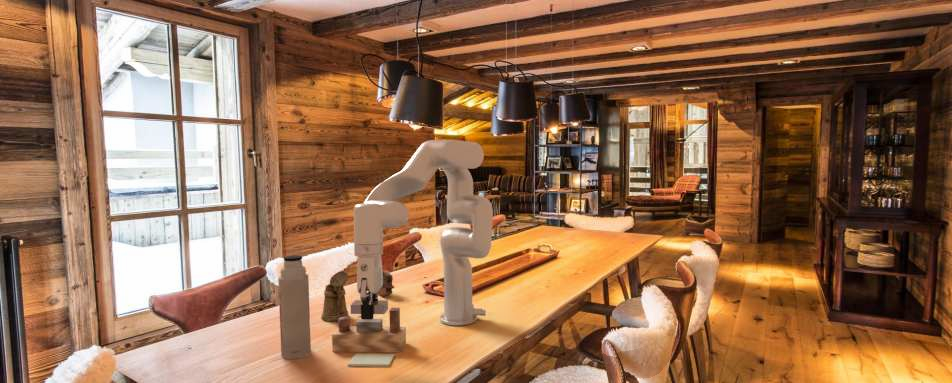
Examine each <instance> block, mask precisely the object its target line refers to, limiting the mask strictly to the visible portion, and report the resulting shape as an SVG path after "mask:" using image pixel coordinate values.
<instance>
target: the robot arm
mask: <svg viewBox="0 0 952 383" xmlns="http://www.w3.org/2000/svg"><path fill="white" fill-rule="evenodd" d="M484 157H485V154H484V150H483V148H482V146H481V145H480V144H479V143H478V142H475V141H467V140H457V139H430V140H426V141H424V142H422V143H421V144H420V146H419V147H418V148H417V149H416V151H415V152H414V153H413V155H412V156H411V158H409V160H408V161H407V162H406V164H405V165H404V167H403V168H402V170H400V171H399V172H397V173H395V174H393V175H392V176H390V177H388V178H387V179H385V180H384V181H382V182H380V183H379V184H378V185H377V186H376V187H375V188H374V189H373V190H372V191H371V192H370V194H369V195H367V198H366V199H365V201H364V202H363V203H359V204H358V203H357V204H355V206H354V208H353V241H354V244H353V247H354V248H353V249H354V254H353V255H354V256H355V257H357V263H356V291H357V293H358V294H359V298H360V300H361V314H360V319H375V318H374V314H373V304H372V300H379V294H378V291H379V290H380V288H381V287H382V286H383V272H382V271H383V260H382V255H383V254H384V246H383V245H384V244H383V243H384V241H383V240H384V239H383V238H384V237H383V236H384V235H383V234H384V232H383V229H399V228H401V227H403V226H404V225H406V223H407V222H408V220H409V217H410V211H409V208H408V206H407V205H406V204H404V203H403V202H400V201H397V200H398V199H401V198H402V197H405V196H408V195H411V194H415V193H417V192H420V191H422V190H424V189H425V188H426V186H427V185H428V184H429V182H430V181H431V179H432V177H433V176H434V174H435V173H436V172H437V171H438V170H439V169H440V168H441V169H442V171H443V173H444V174H445V175H446V179H447V197H446V198H447V199H446V216H447V219H448V220H449V221H450V222H452V223H456V224H462V225H463V224H464V225H472V228H468V227H460V226H459V227H457V226H455V227H454V226H453V227H452V226H451V227H449V228H448V227H447V228H446V229H445V230H443V232H442V233H441V235H440V240H439V244H440V249H441V254H442V260H443V261H442V262H443V263H442V264H443V296H444V297H443V300H444V302H443V304H444V306H443V307H444V312H443V313H441V315H440V316H439V321H440V322H441V323H443V324H445V325H448V326H466V325H471V324H473V323H476V322H477V320H478V316H481V317H482V316H483V317H485V316H486V314H487V312H486V311H487V310H486V309H483V308H476V307H475V306H474V305H475V304H473V268H472V264H471V261H470V259H469V258H471V259H484V258H486V257H487V256H488V255H489V254H490V251H491V246H492V237H493V235H492V234H493V221H494V220H493V218H494V210H493V205H492V203H491V201H490V200H489V198H487V197H485V196H481V195H474V180H473V177H472V174H471V172H470V170H469V169H472V170H473V169H477V168H478V167H480V166H481V165H482V163H483V162H484Z"/></svg>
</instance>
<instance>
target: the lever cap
mask: <svg viewBox="0 0 952 383" xmlns="http://www.w3.org/2000/svg"><path fill="white" fill-rule="evenodd" d="M372 304H373V315H385V314H386V312H387V311H389V310H388V309H389V300H385V299H384V300H379V299H378V300H372ZM350 314H351V315H361V299H360V300H358V299H355V300H354V301H353V302H352V303H351V304H350Z"/></svg>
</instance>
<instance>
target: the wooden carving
mask: <svg viewBox="0 0 952 383" xmlns="http://www.w3.org/2000/svg"><path fill="white" fill-rule="evenodd" d="M382 272H383V286H382V287H381V288H380V290H379V291H378V296H382V297H383V296H385V297H386V296H387V297H388V296H391V295H392V294H393V289H395V285H393V280H394V279H393V278H394V277H393V275H392V274H391V273H390V271H388V270H386V269H385V270H382Z"/></svg>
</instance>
